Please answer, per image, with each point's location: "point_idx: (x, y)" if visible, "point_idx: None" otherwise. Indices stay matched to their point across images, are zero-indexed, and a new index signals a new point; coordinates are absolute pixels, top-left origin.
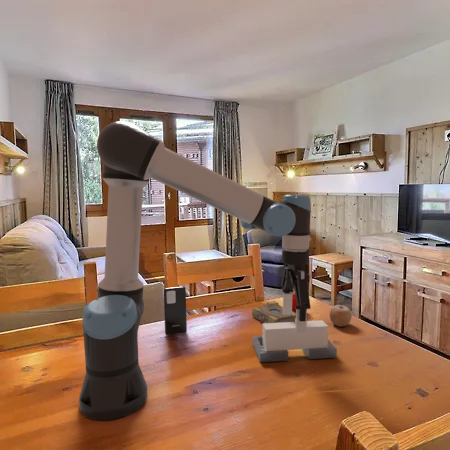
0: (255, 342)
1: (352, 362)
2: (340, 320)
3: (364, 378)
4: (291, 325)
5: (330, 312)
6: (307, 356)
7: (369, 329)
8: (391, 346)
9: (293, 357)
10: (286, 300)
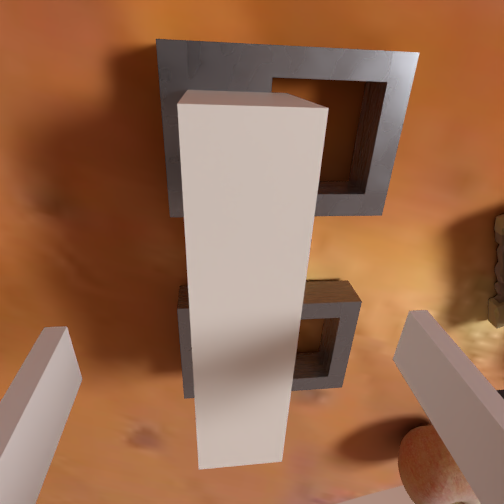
0: (323, 48)
1: (156, 399)
2: (407, 459)
3: None
4: (237, 318)
5: None
6: None
7: (363, 482)
8: (246, 495)
9: None
10: (476, 430)
